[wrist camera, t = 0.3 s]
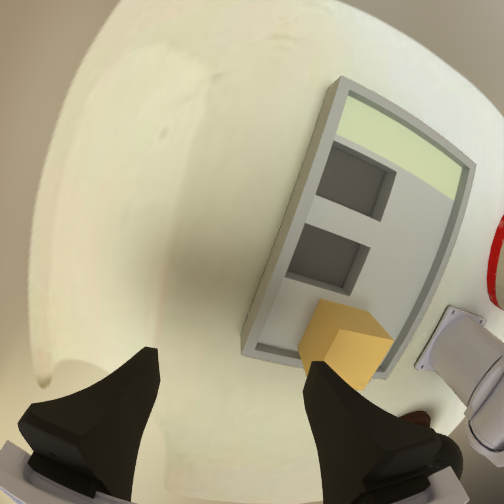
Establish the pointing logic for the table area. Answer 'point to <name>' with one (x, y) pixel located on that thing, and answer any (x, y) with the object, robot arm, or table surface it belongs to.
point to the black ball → (447, 452)
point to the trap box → (362, 226)
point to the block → (345, 342)
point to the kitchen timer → (497, 268)
